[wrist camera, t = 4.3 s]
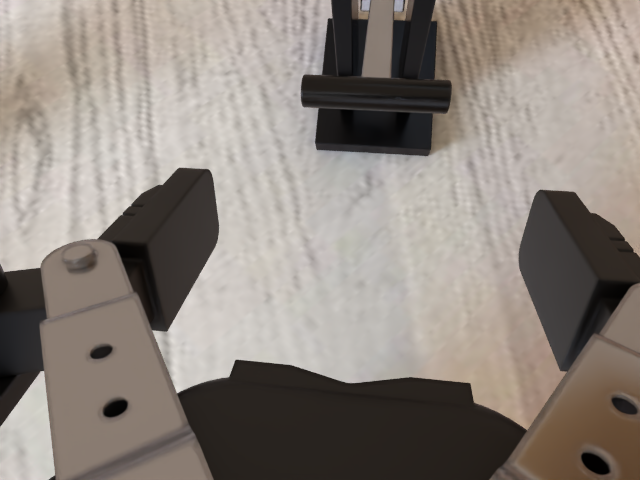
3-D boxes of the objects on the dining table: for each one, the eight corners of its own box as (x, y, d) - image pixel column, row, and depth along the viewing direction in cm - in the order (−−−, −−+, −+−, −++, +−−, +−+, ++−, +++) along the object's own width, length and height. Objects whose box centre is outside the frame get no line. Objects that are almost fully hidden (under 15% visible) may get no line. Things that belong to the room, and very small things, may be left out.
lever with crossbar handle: (443, 133, 18) (456, 78, 16) (302, 125, 18) (298, 72, 17) (435, -12, 25) (443, -62, 23) (333, -15, 26) (333, -63, 24)
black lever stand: (428, 156, 33) (471, 42, 20) (316, 149, 34) (291, 36, 21) (434, 31, 35) (476, -141, 22) (328, 28, 36) (312, -140, 23)
